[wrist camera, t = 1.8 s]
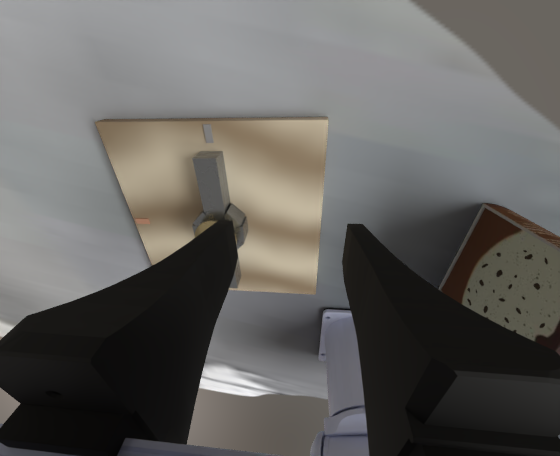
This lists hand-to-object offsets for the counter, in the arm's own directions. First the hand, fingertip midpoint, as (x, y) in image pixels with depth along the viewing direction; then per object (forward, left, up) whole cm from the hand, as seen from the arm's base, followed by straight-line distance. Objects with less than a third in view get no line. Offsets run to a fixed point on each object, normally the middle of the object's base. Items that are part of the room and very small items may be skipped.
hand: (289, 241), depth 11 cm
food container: (-8, -17, -10) cm, 21 cm away
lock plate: (-4, +6, -9) cm, 12 cm away
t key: (-4, +6, -8) cm, 11 cm away
